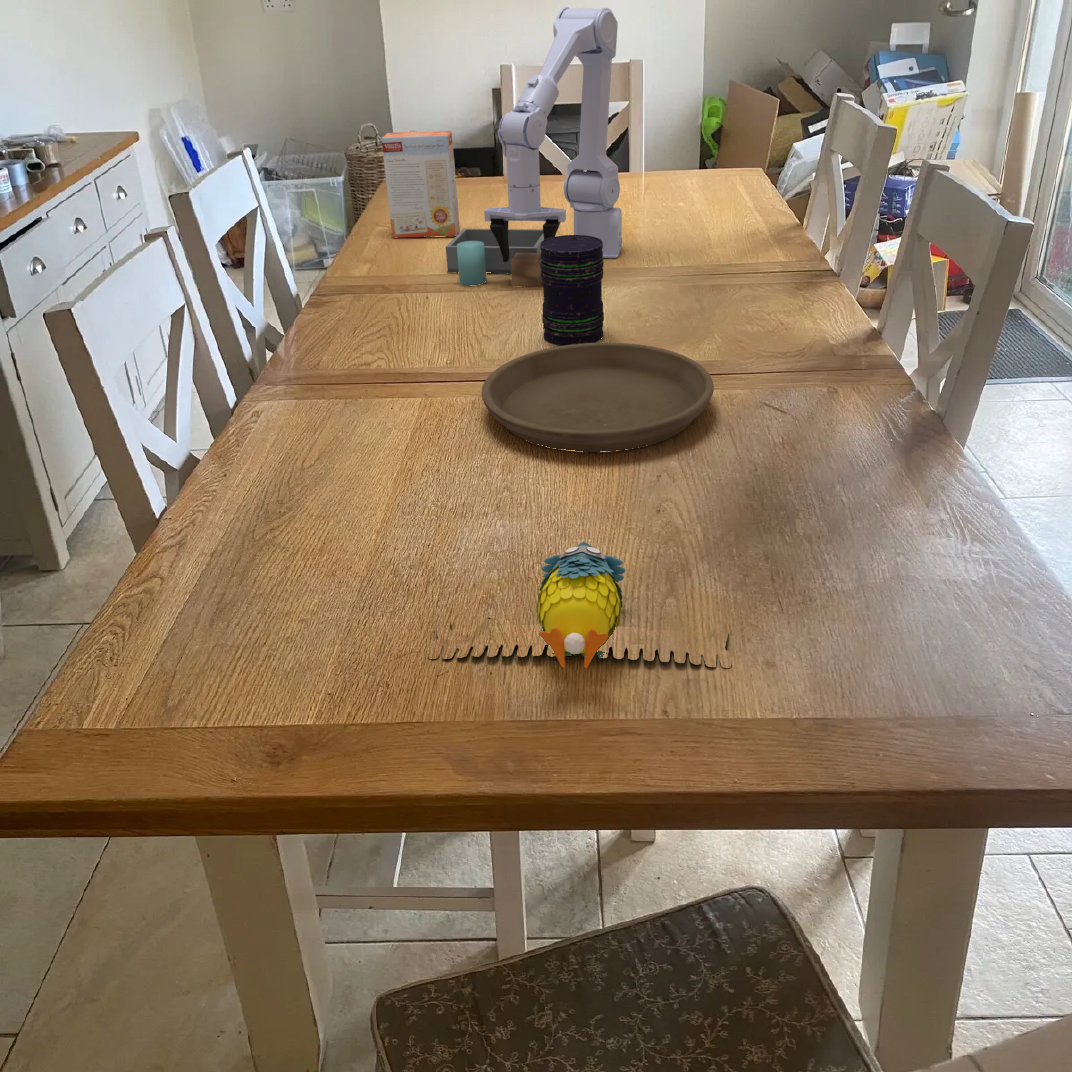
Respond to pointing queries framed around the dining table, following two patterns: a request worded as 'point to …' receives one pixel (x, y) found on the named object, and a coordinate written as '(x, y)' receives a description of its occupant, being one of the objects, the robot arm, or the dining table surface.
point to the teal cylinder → (471, 262)
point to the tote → (495, 247)
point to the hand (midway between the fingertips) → (526, 260)
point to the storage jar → (572, 289)
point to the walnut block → (526, 270)
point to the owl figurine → (579, 601)
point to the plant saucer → (598, 395)
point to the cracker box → (421, 183)
